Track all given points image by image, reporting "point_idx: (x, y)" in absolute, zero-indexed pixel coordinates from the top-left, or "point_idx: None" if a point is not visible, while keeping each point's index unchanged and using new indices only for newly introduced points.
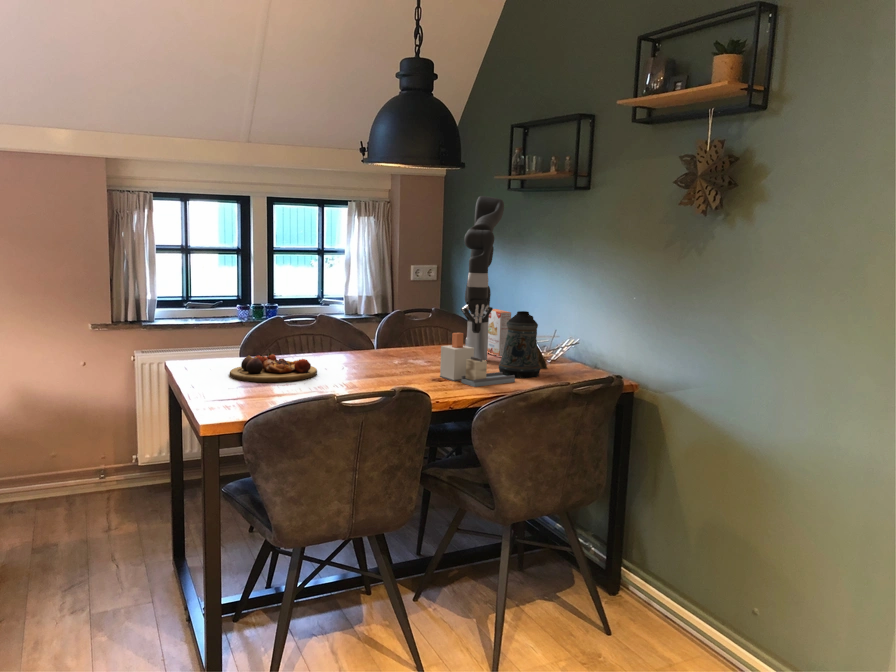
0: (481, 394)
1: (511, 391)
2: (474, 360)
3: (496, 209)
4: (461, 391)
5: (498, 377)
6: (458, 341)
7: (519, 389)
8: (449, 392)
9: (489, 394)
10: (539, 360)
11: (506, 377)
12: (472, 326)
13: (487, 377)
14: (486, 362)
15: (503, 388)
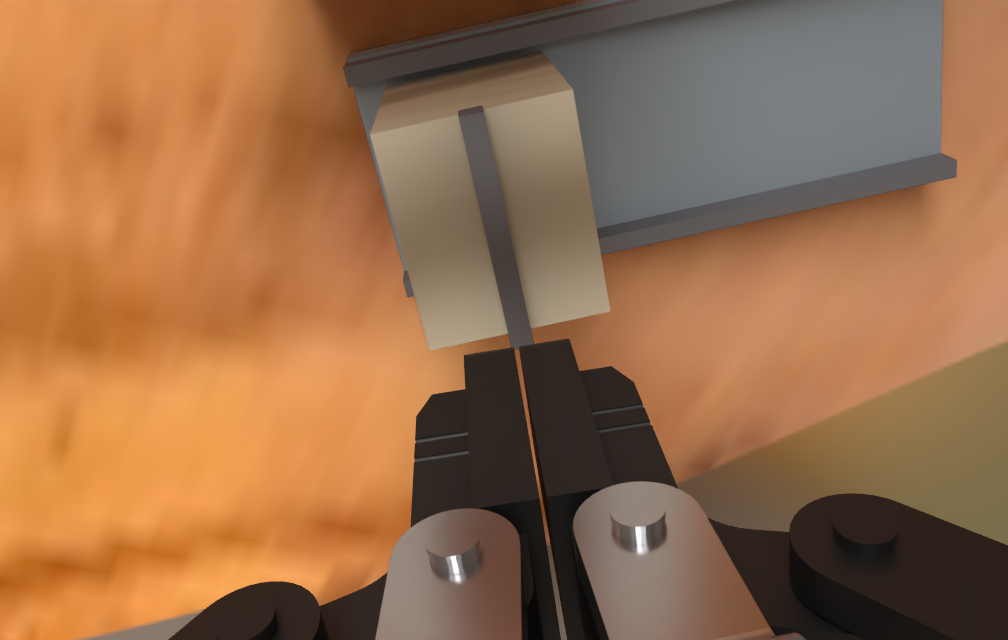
0: (354, 531)
1: None
2: (462, 234)
3: None
4: (221, 410)
5: (725, 227)
6: None
7: (753, 444)
8: (99, 422)
9: None
10: None
11: (833, 198)
12: (419, 491)
13: (676, 65)
14: (601, 303)
15: (644, 385)
